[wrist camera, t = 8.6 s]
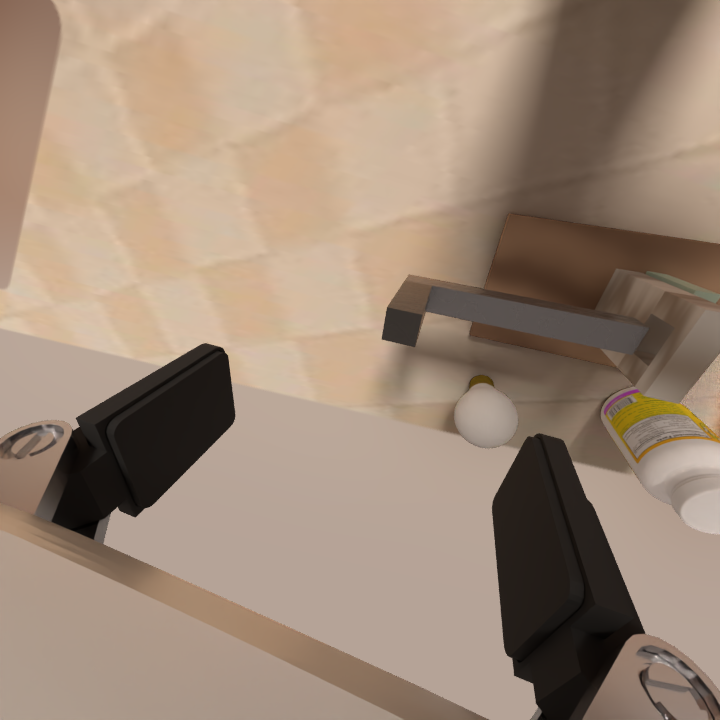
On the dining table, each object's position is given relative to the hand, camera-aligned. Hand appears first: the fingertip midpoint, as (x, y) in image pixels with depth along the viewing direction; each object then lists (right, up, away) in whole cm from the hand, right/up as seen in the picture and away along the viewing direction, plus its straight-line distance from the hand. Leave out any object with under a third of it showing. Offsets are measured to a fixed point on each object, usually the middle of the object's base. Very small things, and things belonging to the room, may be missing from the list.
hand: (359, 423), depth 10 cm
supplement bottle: (+30, -3, +24) cm, 38 cm away
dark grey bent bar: (+11, +6, +14) cm, 19 cm away
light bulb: (+15, 0, +27) cm, 31 cm away
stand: (+23, +8, +20) cm, 32 cm away
